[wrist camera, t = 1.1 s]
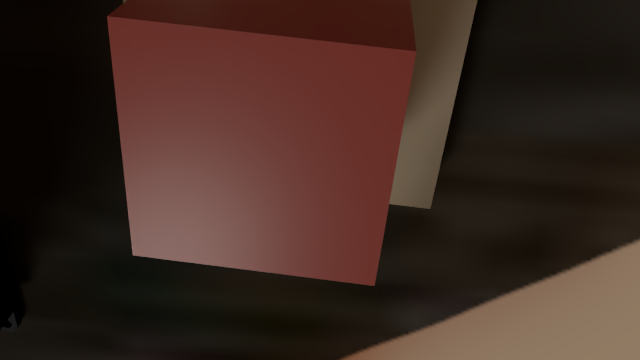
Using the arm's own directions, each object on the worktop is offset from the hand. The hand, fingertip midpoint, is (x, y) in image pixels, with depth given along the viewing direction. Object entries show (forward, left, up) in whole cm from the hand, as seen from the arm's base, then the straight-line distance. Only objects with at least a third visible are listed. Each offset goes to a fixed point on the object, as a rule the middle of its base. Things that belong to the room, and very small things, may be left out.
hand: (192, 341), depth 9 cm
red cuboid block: (0, 0, -9) cm, 9 cm away
